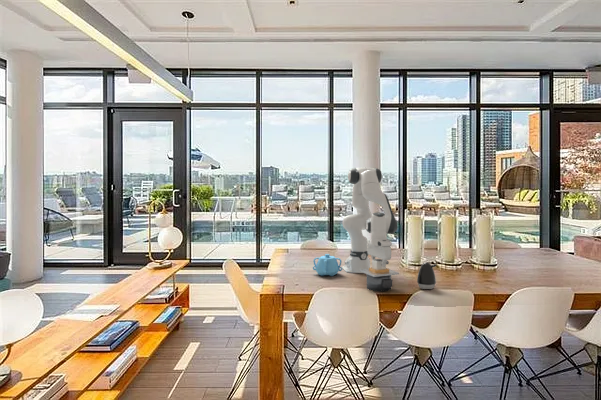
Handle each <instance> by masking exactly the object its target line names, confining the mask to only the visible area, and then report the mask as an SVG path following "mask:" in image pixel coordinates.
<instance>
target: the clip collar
mask: <svg viewBox="0 0 601 400" xmlns="http://www.w3.org/2000/svg"><path fill="white" fill-rule="evenodd" d="M389 269H390V268H387V267H386V269H383V270H374V269H372V267H370V268H369V271H372V272H374V273H382V272H389Z"/></svg>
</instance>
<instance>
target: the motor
mask: <svg viewBox="0 0 601 400" xmlns="http://www.w3.org/2000/svg"><path fill="white" fill-rule="evenodd" d="M388 269H389V272H382V273H374V272H372V271H369V269H361V270H360V272H363V273H362V274H365V275H366V290H368V289H369V290H368V291H371V290H373V291H372V292H389V291H391V290H392V288H393V279H392V276H395V275H396V276H397V275H399V274H400V273H399V271H395V270H393V269H390V268H388Z"/></svg>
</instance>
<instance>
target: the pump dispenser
mask: <svg viewBox="0 0 601 400" xmlns="http://www.w3.org/2000/svg"><path fill="white" fill-rule="evenodd" d="M436 266H437V264H436V263H435V264H431V263H429V262H427V261H426V262H423V263H422V264H421V265H420V268H419V270H418V273H417V279H416V280H417V281H416V282H417V286H418V287H419V289H421V290H423V289H431V290H433V289H434V288H435V286H436V283H437V280H436V274H435V270H434V268H435V267H436Z"/></svg>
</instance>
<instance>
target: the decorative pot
mask: <svg viewBox="0 0 601 400" xmlns="http://www.w3.org/2000/svg"><path fill="white" fill-rule="evenodd" d="M316 260H317V262H316ZM338 261H339V262H338ZM312 263H313V265H314V266H312V269H313V271H316V273H317V274H318V275H320V276H321V277H323V276H329V277H334V276H335V275H336V274H338V273H339V272H341V271H343V269H342V266H341V265H342V259H341V258H339V257H335V255H330V253H325V254H324V255H321V256H320V257H319V256H317V257H314V259H313V260H312Z"/></svg>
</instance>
